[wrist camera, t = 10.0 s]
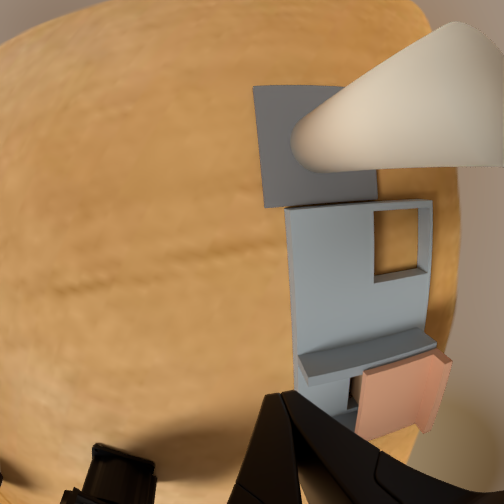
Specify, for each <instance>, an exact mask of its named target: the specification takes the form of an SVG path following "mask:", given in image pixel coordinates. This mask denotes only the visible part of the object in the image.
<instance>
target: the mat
mask: <svg viewBox="0 0 504 504" xmlns="http://www.w3.org/2000/svg"><path fill="white" fill-rule="evenodd" d="M343 88H345V87H336V86H313V85H270V86H253V95H254V105H255V114H256V124H257V134H258V144H259V154H260V165H261V175H262V186H263V197H264V208H273V207H283V206H294V205H306V204H318V203H331V202H344V201H359V200H375V199H378V192H377V176H376V169H374V170H359V171H345V172H333V173H314V172H311V171H309V170H307V169H305V168H304V167H303V166H301V165H300V164H299V163H298V161H297V160H296V159H295V157H294V155H293V153H292V150H291V145H290V137H291V133H292V130H293V128H294V126H295V125H296V123H297V122H298V121H299V120H300V119H302V118H303V117H305V116H306V115H307V114H309V113H310V112H311V111H313V110H314V109H315V108H317V107H318V106H319V105H321V104H322V103H324V102H325V101H326V100H328V99H329V98H331V97H332V96H333V95H335V94H336V93H338V92H339V91H341V90H342V89H343Z"/></svg>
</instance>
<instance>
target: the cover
mask: <svg viewBox="0 0 504 504" xmlns="http://www.w3.org/2000/svg"><path fill="white" fill-rule="evenodd" d="M452 362H453V361H452V360H451V359H450V358H448V357H447V356H446V355H445V354H444V353H442V352H441V351H440V350H439V349H437V348H435V349H432V350H430V351H427V352H424V353H421V354H418V355H415V356H412V357H409V358H406V359H403V360H400V361H396V362H393V363H390V364H387V365H383V366H380V367H376V368H373V369H369V370H365V371H363V376H362V385H361V393H360V400H359V407H358V414H357V420H356V426H355V432H354V433H356V434H357V435H359V436H360V437H362V438H363V439H365V440H366V441H369V440H372V439H375V438H378V437H381V436H384V435H386V434H389V433H392V432H395V431H397V430H400V429H402V428H405V427H407V426H410V425H412V424H416V425H417V427H418V428H419V429H420V430H421V432H422V433H423V434H424V433H427V432H429V431H431V429H432V426H433V424H434V421H435V418H436V415H437V412H438V409H439V407H440V403H441V401H442V397H443V394H444V391H445V388H446V384H447V381H448V377H449V374H450V370H451V366H452Z"/></svg>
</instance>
